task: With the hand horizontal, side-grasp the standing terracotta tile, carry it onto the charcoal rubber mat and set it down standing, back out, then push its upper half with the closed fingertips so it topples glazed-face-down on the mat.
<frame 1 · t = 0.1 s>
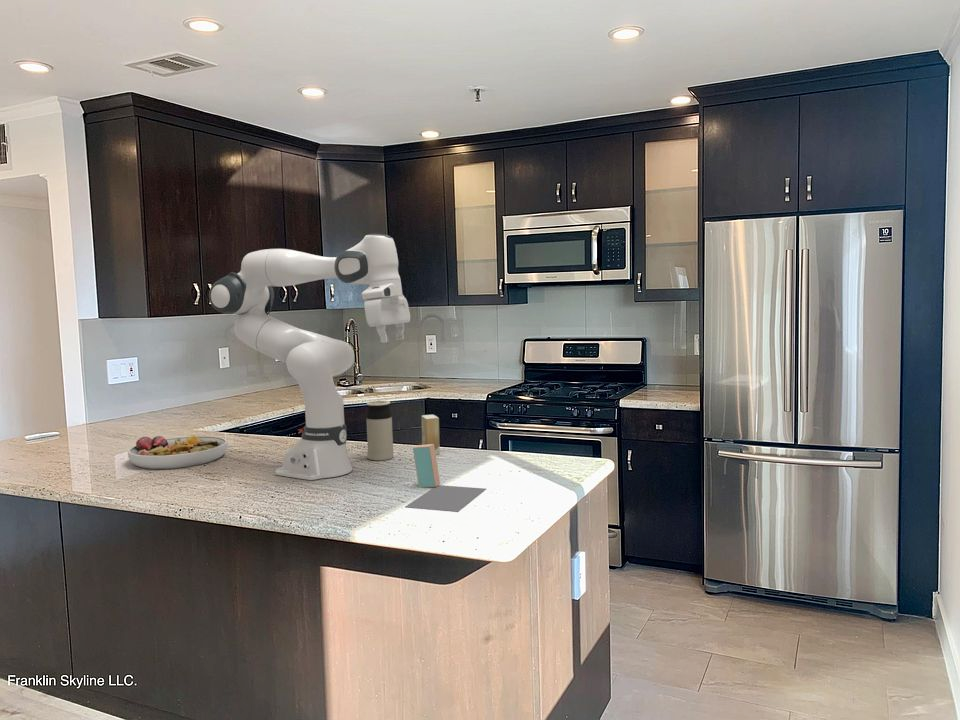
hand: (392, 341, 198), 39 cm above the table, tool pointing down, fingers open, 8 cm apart
skincare box: (431, 453, 231), on the table
mat: (447, 498, 179), on the table
travel mug: (380, 458, 226), on the table
bowl: (179, 461, 233), on the table
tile: (429, 485, 191), on the table, tilted 7°
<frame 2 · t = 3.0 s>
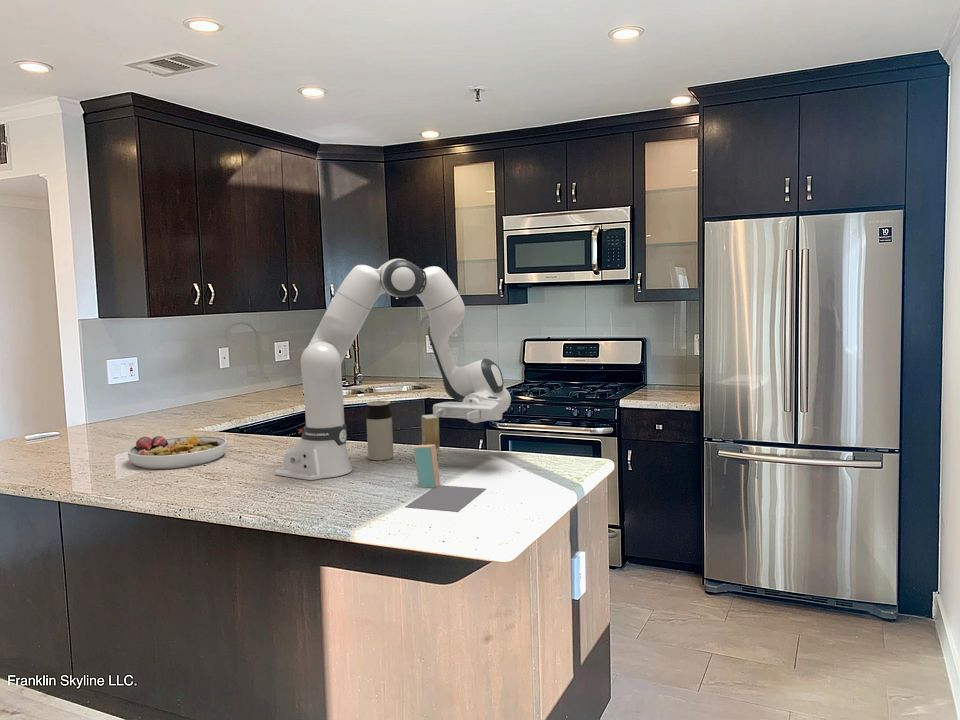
hand: (451, 415, 200), 17 cm above the table, tool horizontal, fingers open, 8 cm apart
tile: (429, 486, 191), on the table, tilted 5°, touching mat
everything else where it was.
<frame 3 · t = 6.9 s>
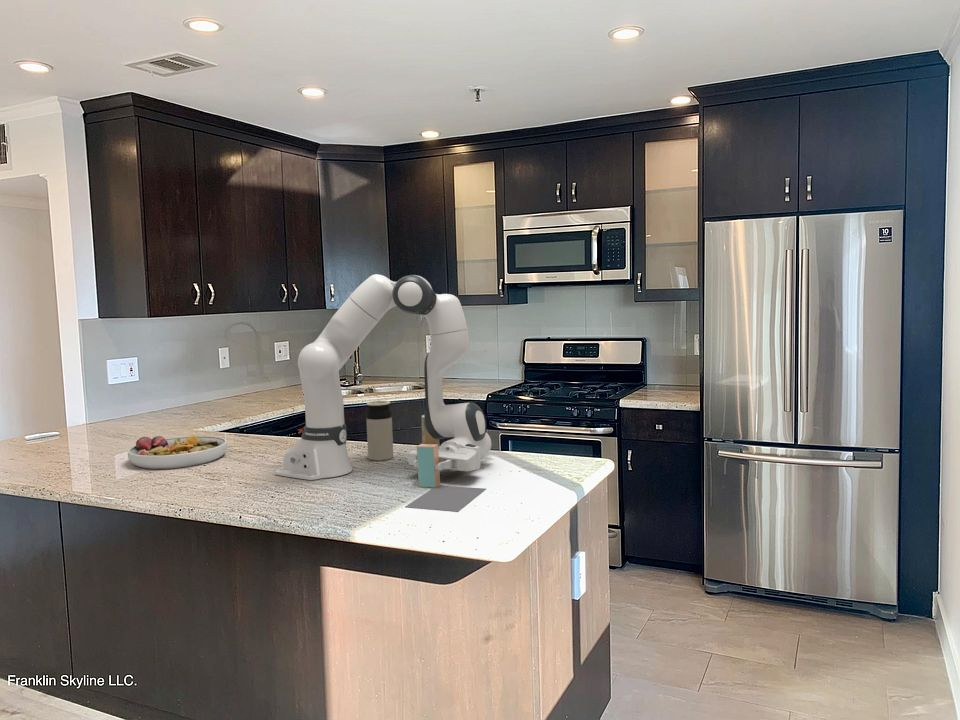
hand: (426, 465, 190), 6 cm above the table, tool horizontal, fingers closed on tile, 5 cm apart
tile: (429, 485, 191), on the table, touching gripper, mat
everything else where it was.
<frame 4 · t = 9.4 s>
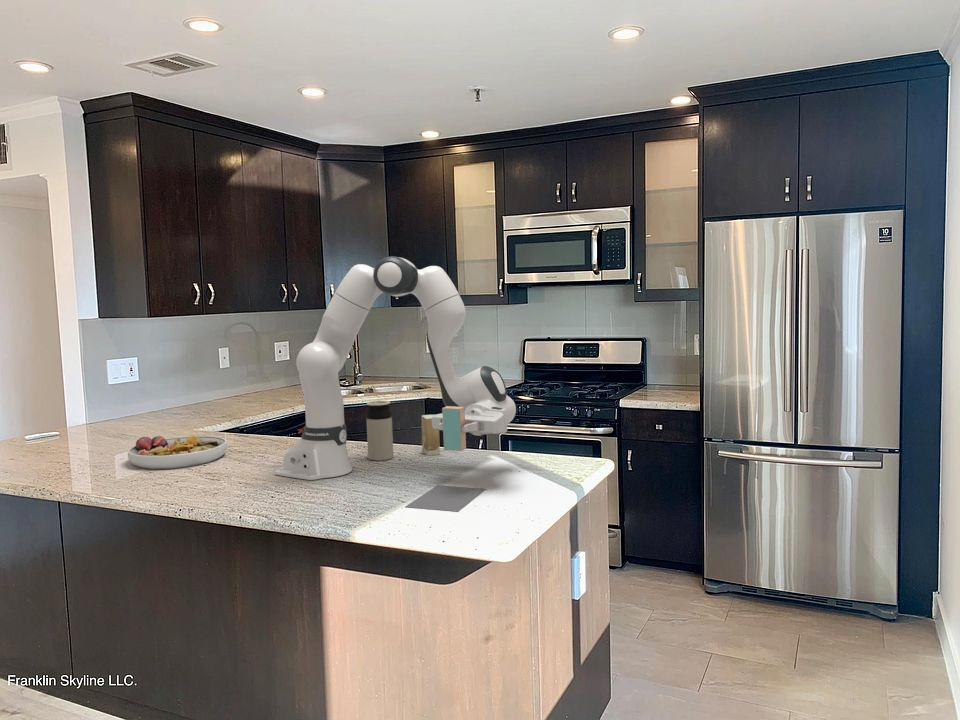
hand: (452, 428, 183), 17 cm above the table, tool horizontal, fingers closed on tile, 5 cm apart
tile: (454, 449, 184), point 11 cm above the table, touching gripper
everything else where it was.
when the fingers open (7 cm above the table, at t = 11.7 s): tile stays where it is, resting on mat.
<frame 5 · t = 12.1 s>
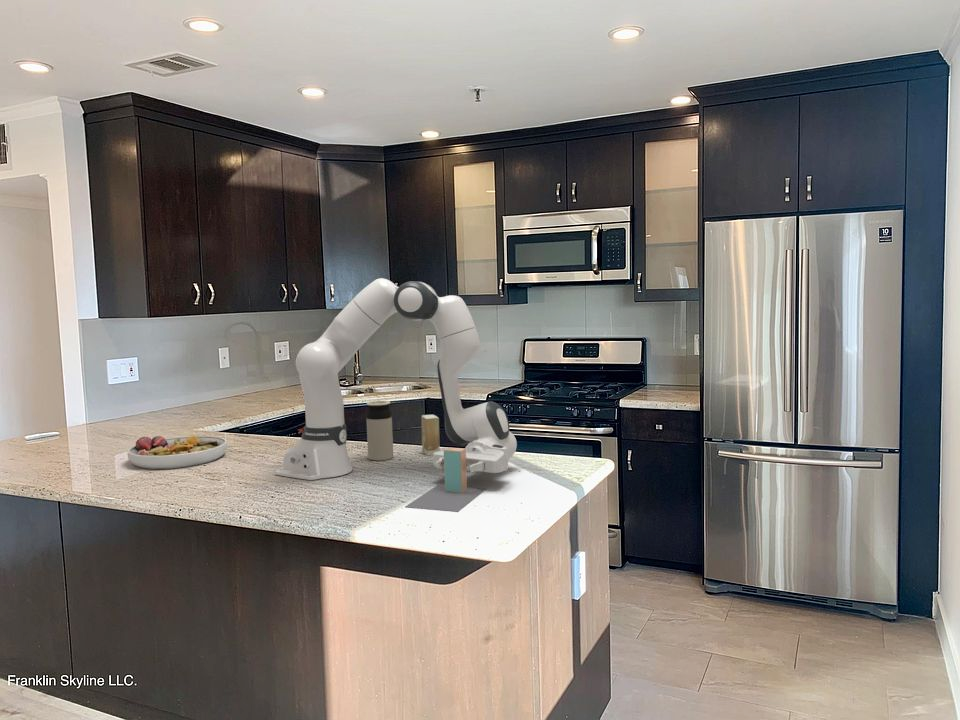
hand: (453, 467, 184), 7 cm above the table, tool horizontal, fingers open, 8 cm apart
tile: (455, 490, 185), resting on mat
everything else where it was.
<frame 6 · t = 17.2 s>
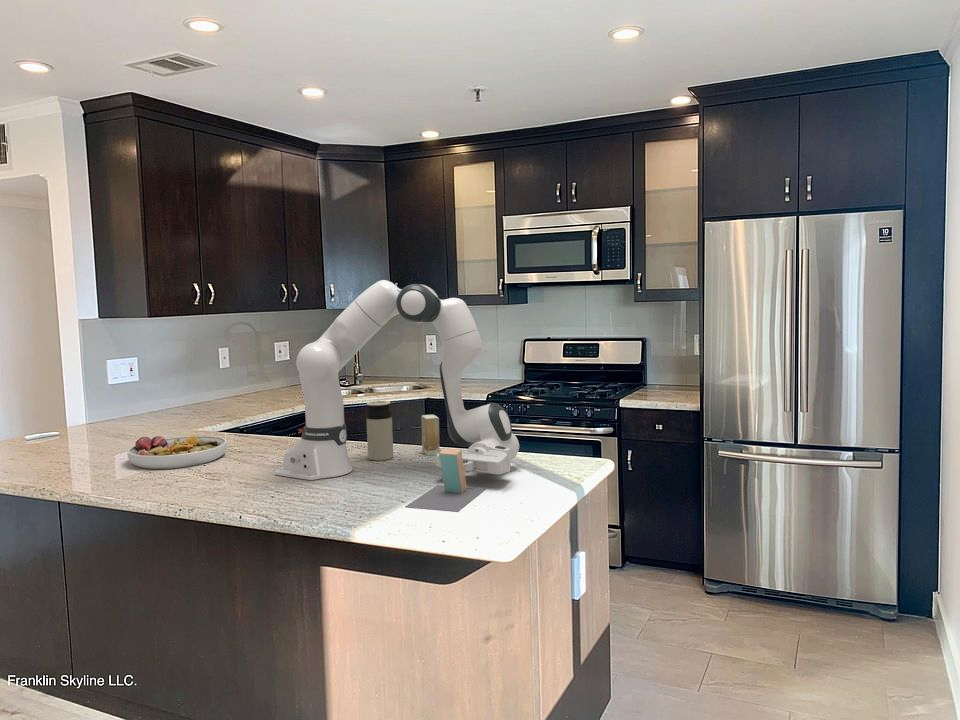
hand: (456, 468, 185), 6 cm above the table, tool horizontal, fingers closed
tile: (455, 489, 185), point 1 cm above the table, tilted 13°, touching mat
everything else where it was.
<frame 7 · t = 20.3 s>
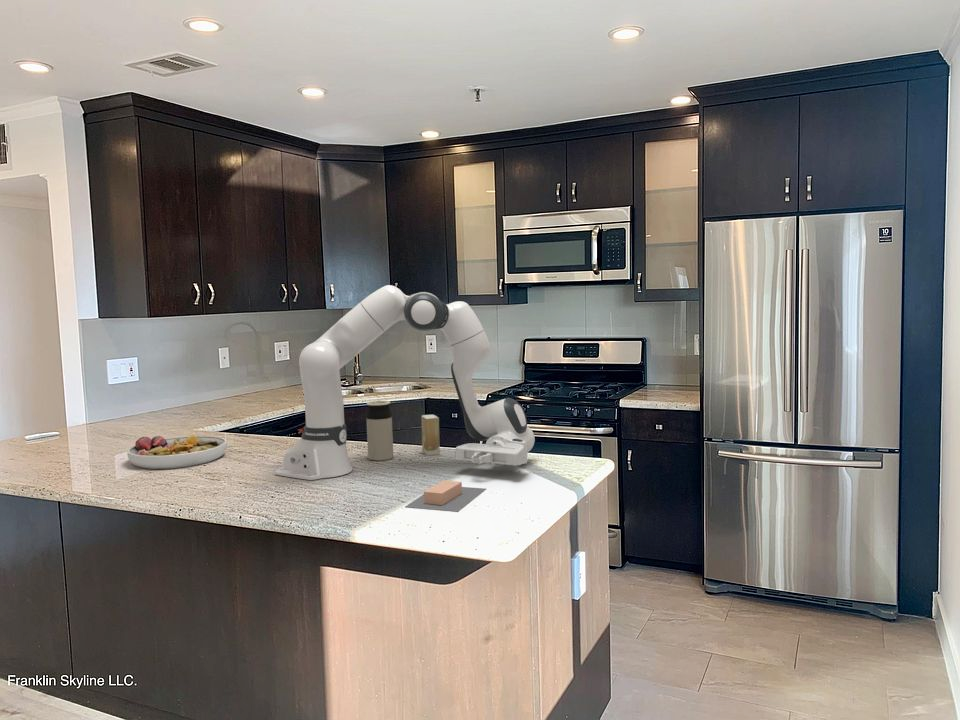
hand: (475, 460, 193), 6 cm above the table, tool horizontal, fingers closed
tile: (453, 486, 183), point 2 cm above the table, tilted 90°, touching mat
everything else where it was.
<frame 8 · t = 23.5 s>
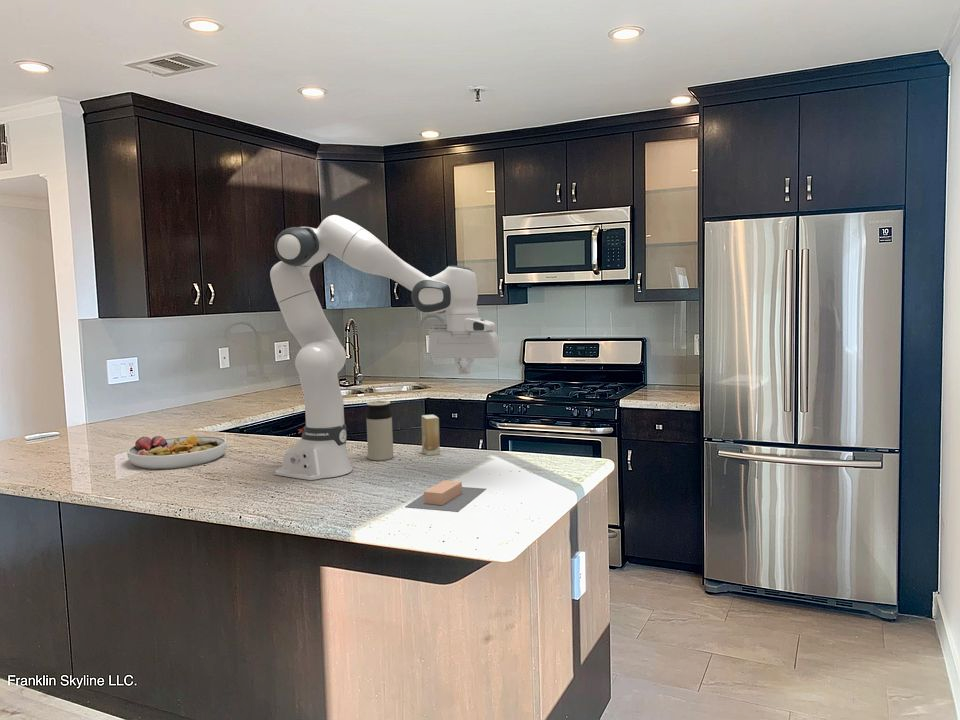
hand: (464, 374, 198), 29 cm above the table, tool pointing down, fingers closed
nothing on the table moved.
at the end: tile tilted 90°; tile inside the target area on the mat (4.5 cm from its centre), point 1.9 cm above the mat's base; the gripper is holding nothing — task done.
